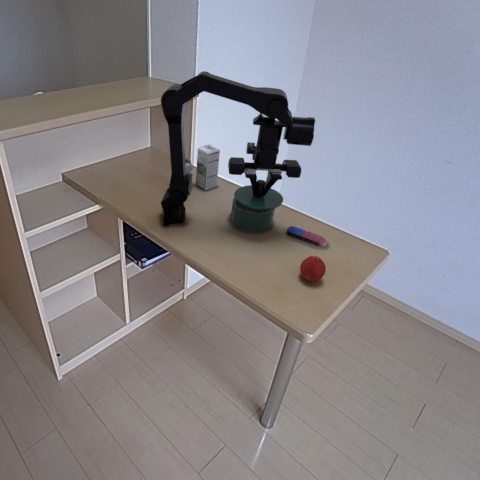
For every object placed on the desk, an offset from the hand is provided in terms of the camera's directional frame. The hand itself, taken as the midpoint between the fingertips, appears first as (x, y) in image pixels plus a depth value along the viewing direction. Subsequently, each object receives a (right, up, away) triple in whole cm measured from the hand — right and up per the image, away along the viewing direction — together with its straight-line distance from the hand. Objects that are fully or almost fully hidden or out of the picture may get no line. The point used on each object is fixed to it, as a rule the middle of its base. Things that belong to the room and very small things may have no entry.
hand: (258, 195), depth 105 cm
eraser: (+14, -13, +3) cm, 19 cm away
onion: (+10, -23, -12) cm, 28 cm away
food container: (-20, +6, +29) cm, 35 cm away
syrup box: (-11, +7, +31) cm, 34 cm away
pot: (0, -7, +11) cm, 13 cm away
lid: (0, -1, 0) cm, 1 cm away
